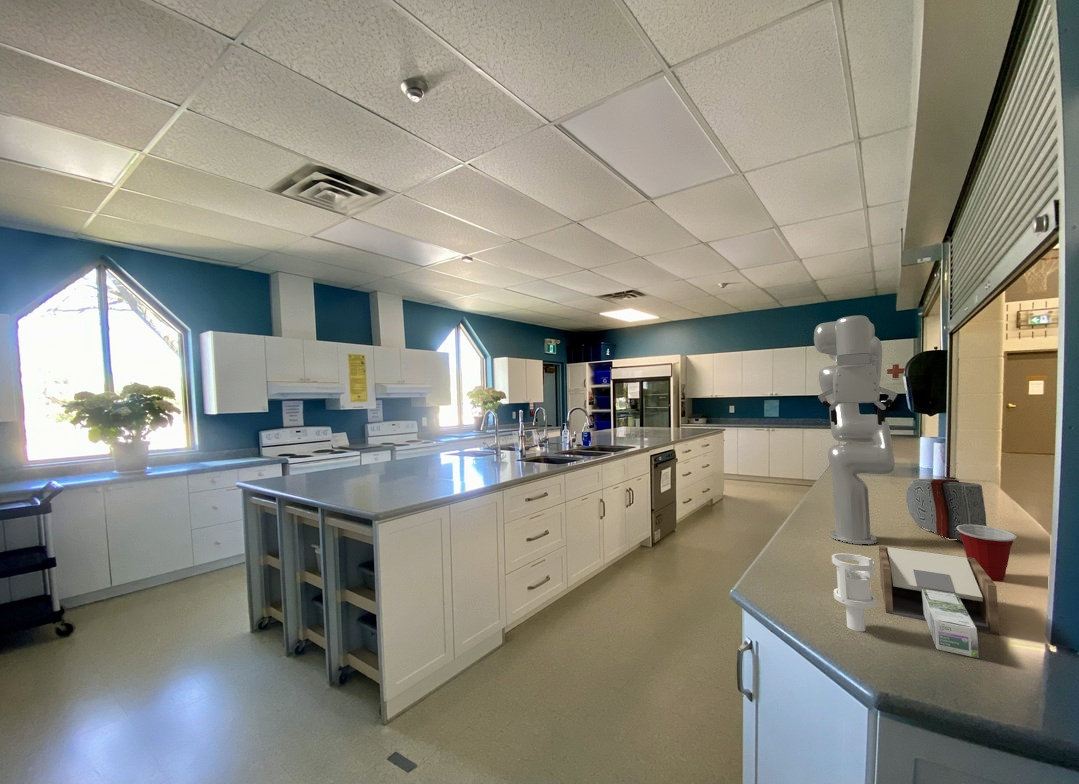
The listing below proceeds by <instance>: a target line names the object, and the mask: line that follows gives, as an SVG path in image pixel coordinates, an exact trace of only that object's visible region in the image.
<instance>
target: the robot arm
mask: <svg viewBox="0 0 1079 784" xmlns="http://www.w3.org/2000/svg"><path fill="white" fill-rule="evenodd" d="M875 329H876V328H875V324H874V323H872V322H871V321H870V319H869V317H867V316H865V315H850V316H844V317H840V318H838V319H837V320H836V321H828V322H822V323H819V324H818V325H816V327H815V329H814V331H813V343H814V347H815V349H816V351H817V352H818V353H821V354H824V355H828V357H829V359H830V360H832V361H833V362H835V363H837V364H834V365H828V366H826V367H823V368H822V369H820V371H819V373H818V381H819V382H818V383H819V386H820V389H821V392H822V393H820V394H818V395H817V398H818V399H819V401H820V402H821V403H822V405H823V406H825V408H827V409H828V410H829V421H830V430H831V435H832V437H833V439H834V440H836V441H838V442H841V443H838V444H836V445H835V444H834V445H832V446H831V447H830V448H829V449H828V453H827V454H828V463H829V468H830V471H831V472H830V473H831V477H832V478H831V479H832V491H833V492H832V493H833V494H832V495H833V509H834V510H833V512H834V513H833V514H834V530H832V531H830V532H829V536H830V538H831V539H833V538H834V539H833V540H835V539H836V541H838V540H840V541H839V542H842V541H843V542H842V543H846V542H848V543H847V544H852V543H853V544H852V545H862V544H868V545H874V543H875V544H876V543H878V538H877V537H876V536H875V535H872V534H871V520H870V518H871V517H870V502H869V488H868V485H867V483H866V482H865V481H864V479H862V478H861V477H859V476H858V474H871V475H888V474H891V473H892V472H893V471H894V469H895V463H896V462H895V455H894V449H893V442H892V435H891V428H890V424H889V421H888V420H887V418H886V413H885V410H886V409H887V408H888V407H889V406H890V405H892V404H893V403H894V400H896V398H897V396H898V393H897V392H895V391H893V390H890V389H887V388H885V387H882V386H880V382H881V378H882V365H883V344H882V342H881V340H880V339H879V338H878V337H877V336H875V331H876V330H875ZM881 393H883V394H884V395H888V397H887V399H886V400H885V401H884V402H883V403H882V402H881V400H880V397H881V396H880V395H881ZM872 403H873V404H874V405H875V406H877V409H876V414H873V413H870V414H862V413H860V407H859V404H872ZM842 442H843V443H842ZM860 443H864V444H860ZM865 443H870V444H865Z"/></svg>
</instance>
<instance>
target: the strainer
mask: <svg viewBox="0 0 1079 784" xmlns="http://www.w3.org/2000/svg"><path fill="white" fill-rule="evenodd" d="M842 560H848V561H857V562H858V564H857V563H850V562H845V561H842ZM831 563H832V564H833V565H834V566H836V580H837V581H836V582H837V588H834V589H833V598H834V600H836V601H838V602H839V603H841V604H844V605H845V613H846V615H845V616H846V627H847V628H848V629H850V630H852V631H854V632H861V633H862V632H865V631H866V617H865V615H866V614H865V609H872V608H873V609H874V608H875V607H877V598H876V596H874V595H873V594H872V588H871V587H872V586H871V579H870V578H873V577H874V570H875V562H874V560H873V558H872V557H871V558H870V557H867V556H864V555H863V554H854V553H845V552H844V553H843V552H841V553H833V554H831Z"/></svg>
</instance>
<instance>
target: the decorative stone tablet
mask: <svg viewBox="0 0 1079 784" xmlns="http://www.w3.org/2000/svg"><path fill="white" fill-rule="evenodd" d="M982 486H983V485H982V484H980V483H975V482H974V483H973V482H965V481H959V480H958V479H951V478H915V479H912V481H911V482H909V485H908V487H907V489H906V505H907V506H906V507H907V510H908V514H909V515H910V517H911V518H912V520H913V522H914V523H915V524H916V526H918V525H919V527H920V526H921V527H923V528H925V529H928V530H930V531H933V532H935V533H934V534H936V533H937V535H938V536H939V535H940V536H943V537H946V538H949V539H957V540H960V541H959V542H962V540H961V536H960V533H959V531H958V530H957V529H956V527H957V526H959V525H982V526H988V525H987V514H986V507H985V498H984V491H983V487H982ZM921 527H920V528H921ZM923 528H922V529H923ZM940 536H939V537H940Z"/></svg>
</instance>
